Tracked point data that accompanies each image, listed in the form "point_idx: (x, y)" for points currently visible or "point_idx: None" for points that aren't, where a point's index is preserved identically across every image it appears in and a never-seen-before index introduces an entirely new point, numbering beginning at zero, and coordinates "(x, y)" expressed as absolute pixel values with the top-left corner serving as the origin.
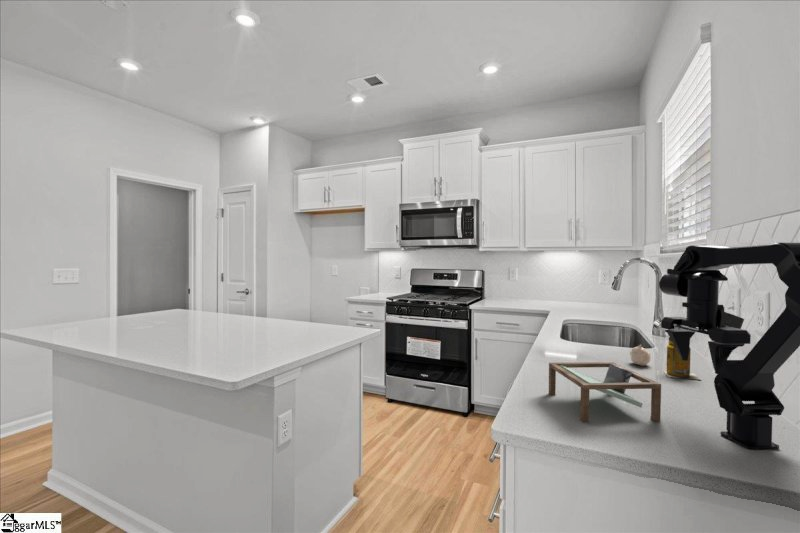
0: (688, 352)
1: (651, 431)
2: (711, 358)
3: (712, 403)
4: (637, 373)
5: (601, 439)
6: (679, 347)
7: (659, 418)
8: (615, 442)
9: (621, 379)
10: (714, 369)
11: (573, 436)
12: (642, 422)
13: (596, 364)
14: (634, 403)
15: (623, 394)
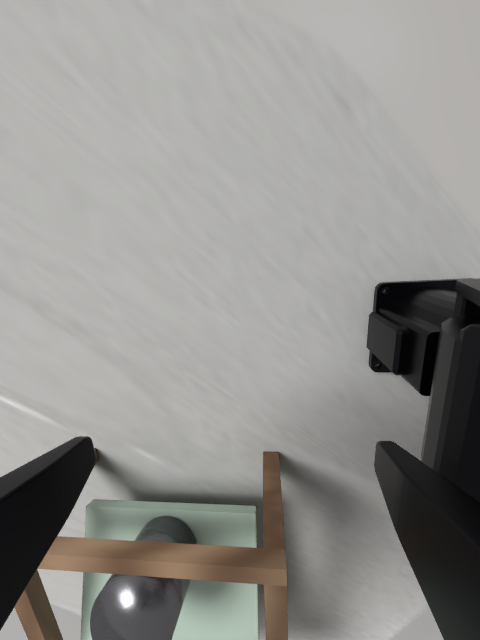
0: (34, 480)
1: (333, 504)
2: (442, 633)
3: (129, 192)
4: (149, 563)
5: (360, 603)
6: (9, 604)
7: (278, 459)
8: (375, 589)
9: (184, 598)
10: (382, 486)
11: (342, 634)
12: (284, 493)
13: (36, 607)
14: (256, 533)
15: None
